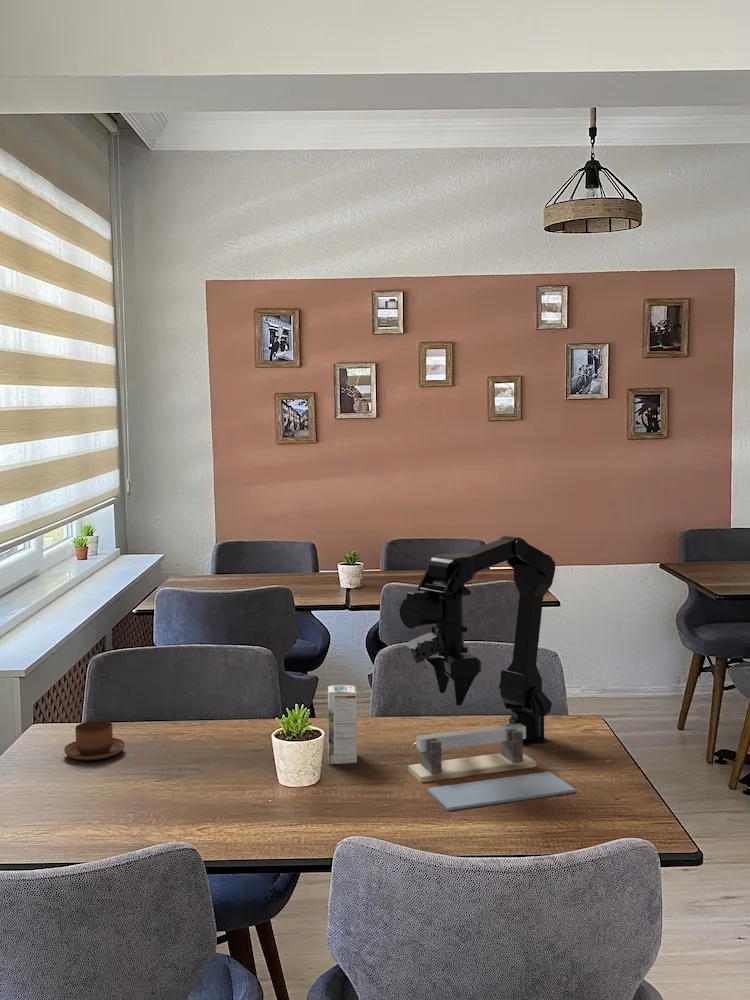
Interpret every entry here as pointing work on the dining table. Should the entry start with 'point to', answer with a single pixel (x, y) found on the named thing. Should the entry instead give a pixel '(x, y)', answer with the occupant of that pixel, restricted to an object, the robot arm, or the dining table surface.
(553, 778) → the mat
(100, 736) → the cup and saucer
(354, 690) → the syrup box
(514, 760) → the rail stand
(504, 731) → the rail
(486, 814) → the dining table surface
